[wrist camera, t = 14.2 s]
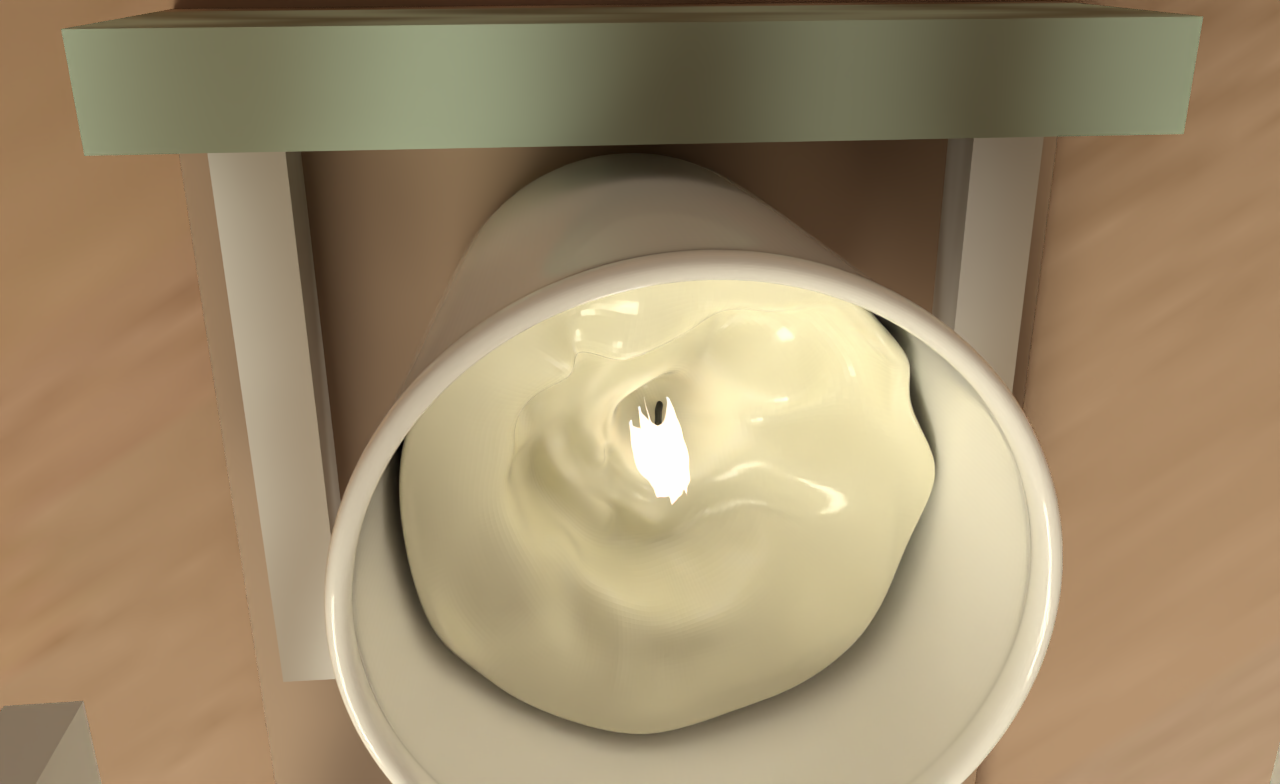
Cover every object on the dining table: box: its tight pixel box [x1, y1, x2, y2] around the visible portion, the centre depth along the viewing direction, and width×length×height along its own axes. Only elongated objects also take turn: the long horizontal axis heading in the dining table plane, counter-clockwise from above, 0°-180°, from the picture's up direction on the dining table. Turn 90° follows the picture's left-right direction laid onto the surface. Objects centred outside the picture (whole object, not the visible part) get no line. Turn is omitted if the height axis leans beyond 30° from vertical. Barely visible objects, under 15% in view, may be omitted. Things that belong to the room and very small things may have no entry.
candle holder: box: [324, 153, 1063, 784], centre depth 21 cm, size 10×10×12 cm
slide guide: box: [61, 1, 1203, 784], centre depth 26 cm, size 19×26×6 cm
